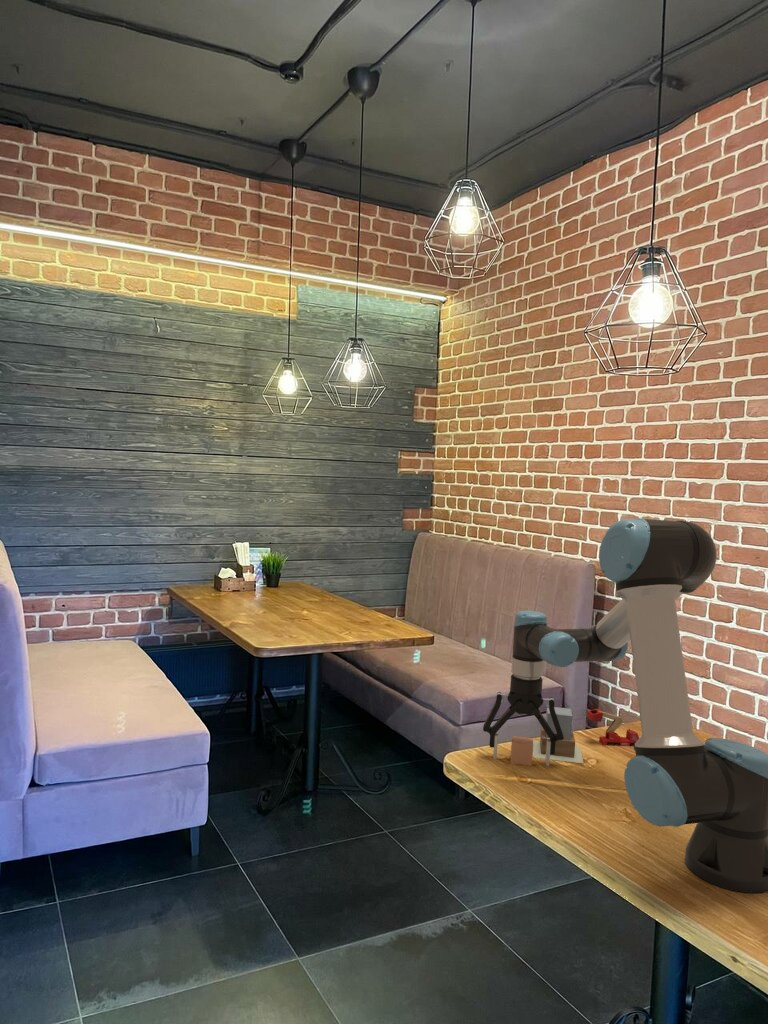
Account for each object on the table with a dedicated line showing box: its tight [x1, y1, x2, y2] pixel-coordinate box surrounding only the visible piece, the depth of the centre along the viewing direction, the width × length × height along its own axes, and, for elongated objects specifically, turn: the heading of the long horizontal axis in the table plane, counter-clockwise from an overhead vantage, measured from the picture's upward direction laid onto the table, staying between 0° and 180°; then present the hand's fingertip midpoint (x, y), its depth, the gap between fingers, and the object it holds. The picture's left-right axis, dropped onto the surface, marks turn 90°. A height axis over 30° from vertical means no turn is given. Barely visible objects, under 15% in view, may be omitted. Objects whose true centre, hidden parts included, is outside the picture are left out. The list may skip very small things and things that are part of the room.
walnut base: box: [539, 727, 576, 758], centre depth 191 cm, size 8×8×4 cm
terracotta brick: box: [510, 735, 534, 766], centre depth 183 cm, size 5×5×6 cm
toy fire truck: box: [586, 708, 640, 750], centre depth 199 cm, size 3×14×10 cm, turn 94°
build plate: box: [532, 740, 584, 764], centre depth 191 cm, size 12×12×1 cm
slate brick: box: [545, 706, 573, 740], centre depth 191 cm, size 6×6×6 cm
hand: (520, 763), depth 183 cm, fingers open, 12 cm apart
